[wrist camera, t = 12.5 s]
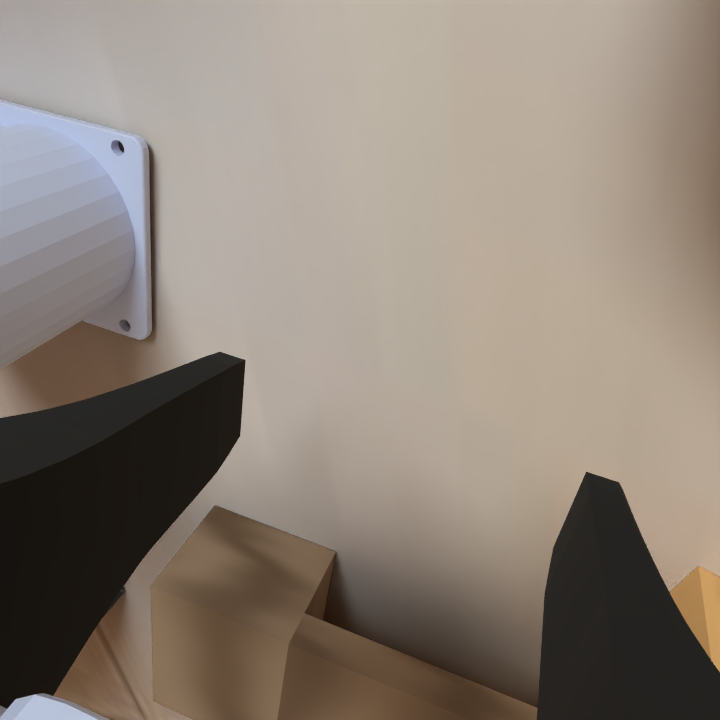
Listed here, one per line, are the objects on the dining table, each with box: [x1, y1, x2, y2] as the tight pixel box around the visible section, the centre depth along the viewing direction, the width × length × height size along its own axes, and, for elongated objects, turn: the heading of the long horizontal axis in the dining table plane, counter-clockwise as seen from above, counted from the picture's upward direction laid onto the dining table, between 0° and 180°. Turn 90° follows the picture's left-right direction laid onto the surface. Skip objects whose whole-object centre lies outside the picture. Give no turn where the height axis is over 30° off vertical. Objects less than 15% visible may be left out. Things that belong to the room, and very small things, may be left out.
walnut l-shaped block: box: [151, 506, 538, 720], centre depth 29 cm, size 18×8×5 cm, turn 81°
